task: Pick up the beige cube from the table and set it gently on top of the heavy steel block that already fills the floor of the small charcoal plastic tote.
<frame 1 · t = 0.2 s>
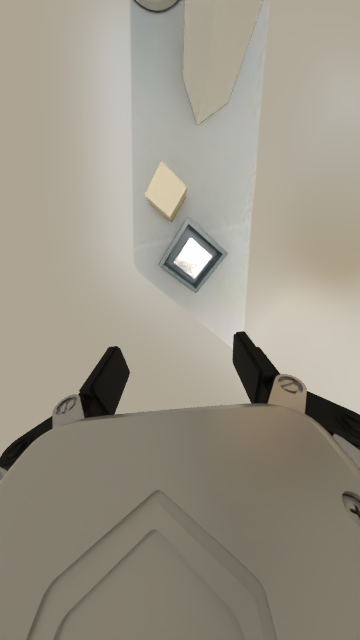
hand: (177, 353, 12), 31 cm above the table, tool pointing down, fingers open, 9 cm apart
beige cube: (168, 200, 31), on the table
milk: (205, 91, 24), on the table
tote: (190, 257, 36), on the table
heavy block: (191, 257, 35), point 1 cm above the table, touching tote
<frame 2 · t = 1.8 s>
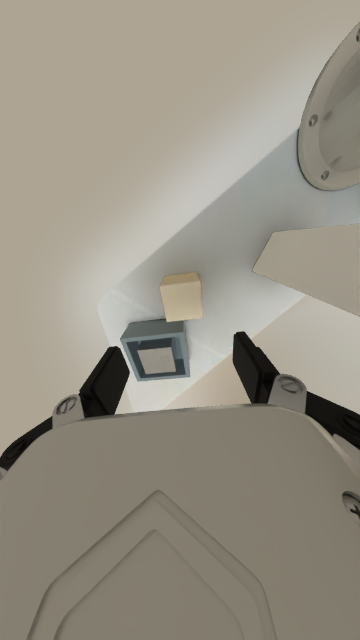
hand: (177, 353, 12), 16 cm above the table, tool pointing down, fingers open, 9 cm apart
beige cube: (182, 289, 26), on the table
milk: (276, 258, 23), on the table
tote: (161, 341, 31), on the table
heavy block: (161, 344, 31), point 1 cm above the table, touching tote
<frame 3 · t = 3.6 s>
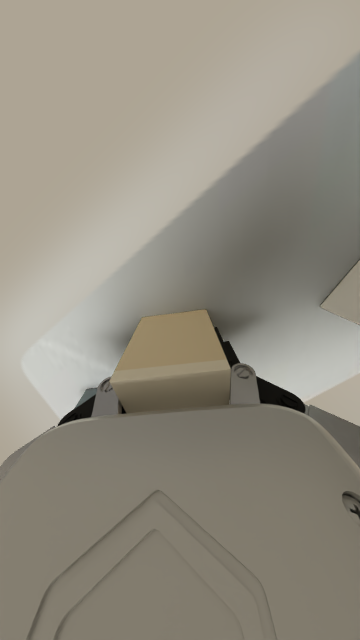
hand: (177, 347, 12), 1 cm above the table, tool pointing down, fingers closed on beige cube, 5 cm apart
beige cube: (178, 339, 13), on the table, touching gripper
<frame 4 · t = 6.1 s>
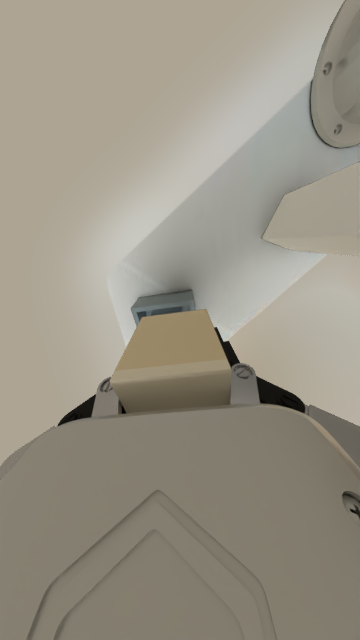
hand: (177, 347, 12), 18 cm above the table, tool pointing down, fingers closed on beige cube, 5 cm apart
beige cube: (178, 339, 13), point 17 cm above the table, touching gripper
milk: (286, 225, 23), on the table
tote: (170, 317, 32), on the table
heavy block: (169, 319, 31), point 1 cm above the table, touching tote
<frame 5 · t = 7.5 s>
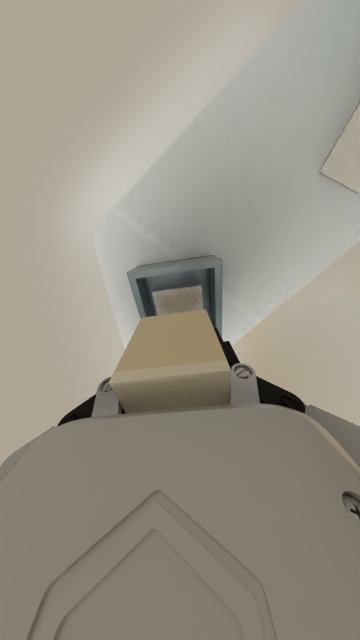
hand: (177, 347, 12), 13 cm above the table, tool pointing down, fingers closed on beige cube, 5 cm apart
beige cube: (178, 339, 13), point 12 cm above the table, touching gripper
milk: (358, 150, 16), on the table
tote: (179, 296, 24), on the table
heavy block: (179, 298, 23), point 1 cm above the table, touching tote
when the fingers open (8 cm above the table, at t = 8.7 s): beige cube drops 1 cm, resting on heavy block.
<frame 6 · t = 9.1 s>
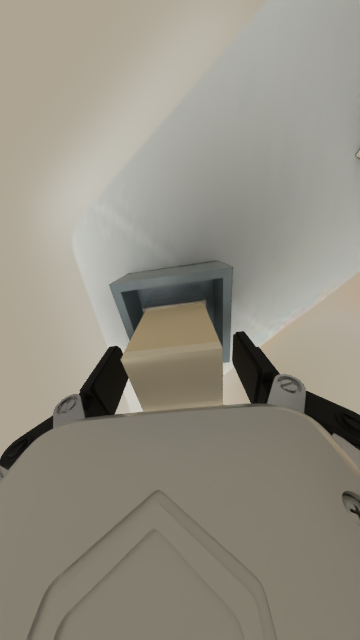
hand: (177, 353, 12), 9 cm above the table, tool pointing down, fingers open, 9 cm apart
beige cube: (178, 331, 15), point 6 cm above the table, touching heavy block
tote: (178, 308, 20), on the table
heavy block: (178, 311, 19), point 1 cm above the table, touching beige cube, tote
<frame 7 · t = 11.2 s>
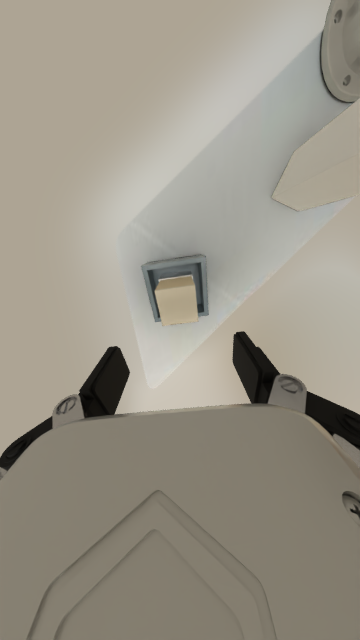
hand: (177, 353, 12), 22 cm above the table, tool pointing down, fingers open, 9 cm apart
beige cube: (177, 293, 26), point 6 cm above the table, touching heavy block
milk: (295, 184, 24), on the table
tote: (177, 285, 31), on the table
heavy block: (177, 286, 31), point 1 cm above the table, touching beige cube, tote
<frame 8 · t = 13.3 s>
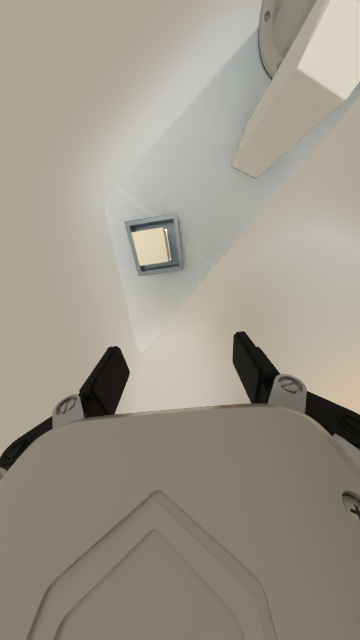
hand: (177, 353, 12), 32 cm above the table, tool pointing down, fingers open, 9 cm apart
beige cube: (155, 247, 31), point 6 cm above the table, touching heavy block
milk: (250, 154, 29), on the table
tote: (159, 246, 37), on the table
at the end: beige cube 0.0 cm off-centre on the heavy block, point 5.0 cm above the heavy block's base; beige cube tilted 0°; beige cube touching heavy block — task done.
